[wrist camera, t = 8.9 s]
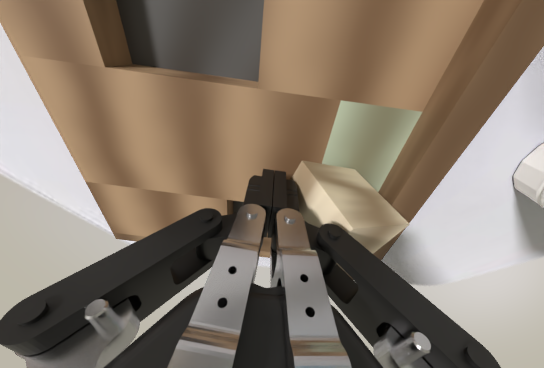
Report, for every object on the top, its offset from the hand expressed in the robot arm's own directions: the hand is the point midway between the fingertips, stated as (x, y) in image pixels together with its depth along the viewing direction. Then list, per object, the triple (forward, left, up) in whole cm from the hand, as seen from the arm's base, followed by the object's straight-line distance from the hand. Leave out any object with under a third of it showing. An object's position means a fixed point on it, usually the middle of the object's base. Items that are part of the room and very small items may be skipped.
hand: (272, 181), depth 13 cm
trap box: (-2, -2, -5) cm, 6 cm away
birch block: (+3, +2, -1) cm, 4 cm away
